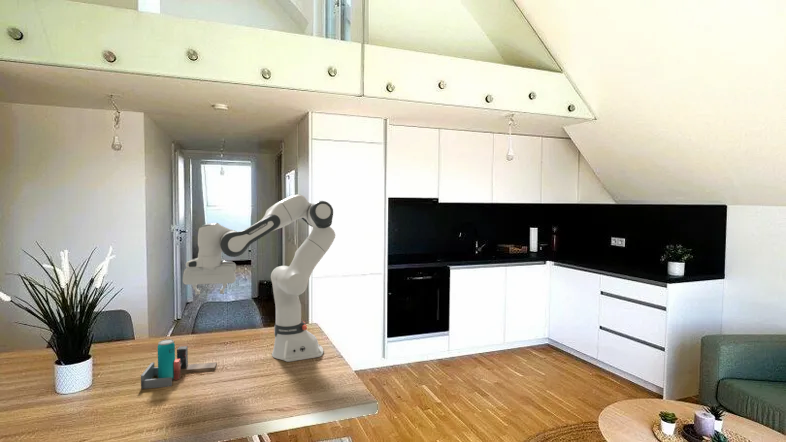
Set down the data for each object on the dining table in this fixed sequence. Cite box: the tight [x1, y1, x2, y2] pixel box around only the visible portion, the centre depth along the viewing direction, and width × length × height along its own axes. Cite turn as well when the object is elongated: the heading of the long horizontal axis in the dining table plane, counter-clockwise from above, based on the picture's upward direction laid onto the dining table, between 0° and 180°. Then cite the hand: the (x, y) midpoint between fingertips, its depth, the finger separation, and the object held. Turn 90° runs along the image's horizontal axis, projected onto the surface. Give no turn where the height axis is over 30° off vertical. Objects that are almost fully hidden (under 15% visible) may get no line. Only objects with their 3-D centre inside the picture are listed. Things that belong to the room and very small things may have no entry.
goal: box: [140, 362, 173, 390], centre depth 156 cm, size 10×12×5 cm
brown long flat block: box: [181, 361, 218, 374], centre depth 167 cm, size 16×5×1 cm, turn 104°
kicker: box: [173, 345, 189, 381], centre depth 161 cm, size 3×11×9 cm, turn 14°
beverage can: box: [157, 338, 176, 381], centre depth 156 cm, size 6×6×15 cm
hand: (210, 294), depth 173 cm, fingers open, 8 cm apart
